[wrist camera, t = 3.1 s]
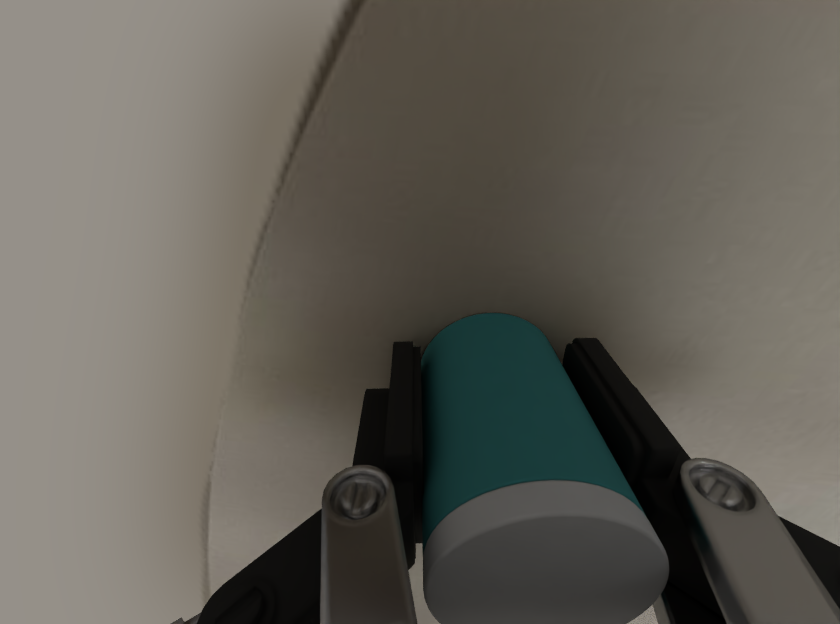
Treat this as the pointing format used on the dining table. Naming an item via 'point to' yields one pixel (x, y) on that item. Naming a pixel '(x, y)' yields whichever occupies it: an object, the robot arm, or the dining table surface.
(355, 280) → the dining table surface
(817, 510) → the dining table surface
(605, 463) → the stopper
